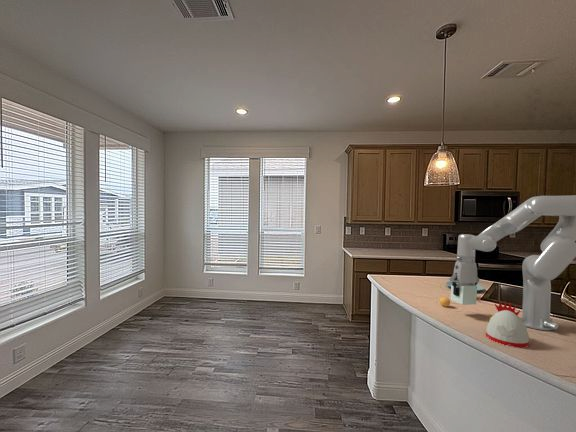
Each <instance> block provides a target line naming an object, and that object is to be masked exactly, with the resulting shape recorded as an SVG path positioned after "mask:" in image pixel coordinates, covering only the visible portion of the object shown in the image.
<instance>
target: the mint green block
mask: <svg viewBox="0 0 576 432" xmlns="http://www.w3.org/2000/svg"><path fill="white" fill-rule="evenodd" d="M453 288H454V287H453V286H452V284H451V287H450V299H449V300H450V301H453V302H454V303H458V304H460V305H465V306H466V305H477V295H478V291H477V286H475V285H472V284H462V283H461V284H460V286H459V287H458V288H460V290H459V296H456V295H454V294H453Z"/></svg>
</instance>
